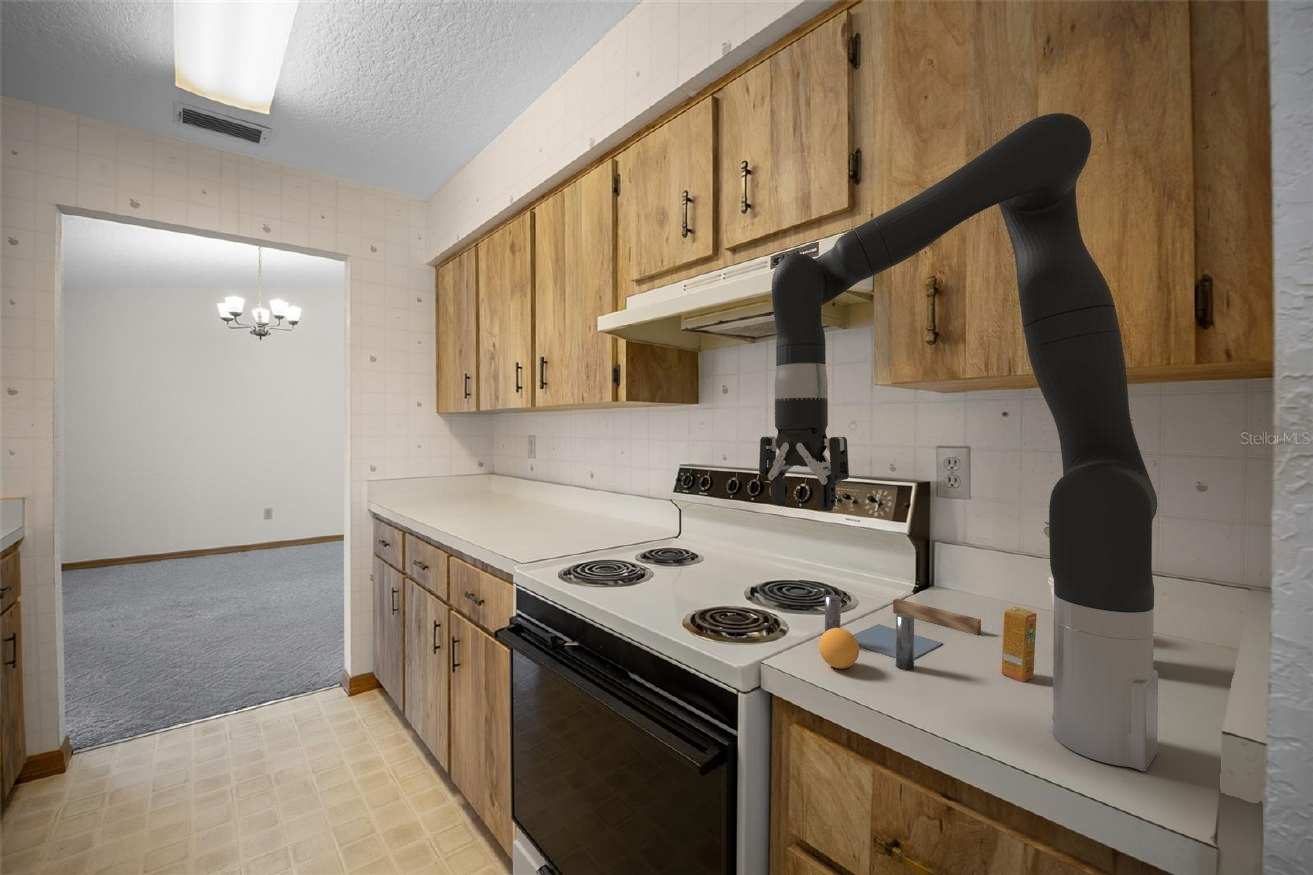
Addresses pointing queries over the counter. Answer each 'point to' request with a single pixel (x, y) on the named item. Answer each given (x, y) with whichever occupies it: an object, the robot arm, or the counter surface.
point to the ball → (839, 648)
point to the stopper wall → (938, 616)
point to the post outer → (832, 612)
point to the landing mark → (891, 641)
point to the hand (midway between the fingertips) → (801, 507)
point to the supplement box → (1018, 643)
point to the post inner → (905, 641)
